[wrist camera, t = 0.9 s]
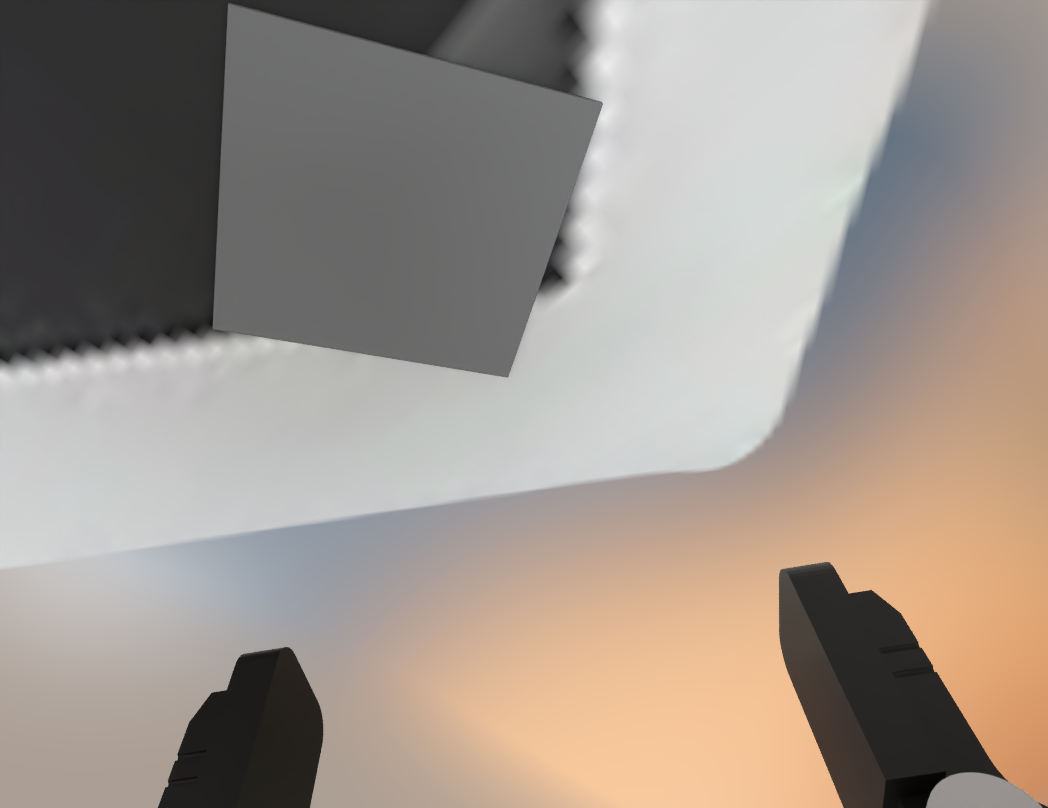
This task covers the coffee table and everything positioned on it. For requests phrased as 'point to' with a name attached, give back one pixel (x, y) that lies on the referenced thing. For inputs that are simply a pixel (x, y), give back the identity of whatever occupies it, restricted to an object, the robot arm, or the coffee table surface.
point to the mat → (386, 195)
